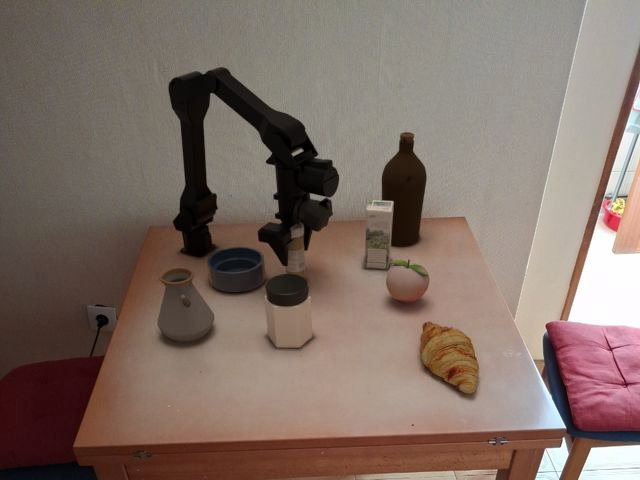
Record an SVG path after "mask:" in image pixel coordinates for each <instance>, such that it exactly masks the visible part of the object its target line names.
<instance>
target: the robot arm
mask: <svg viewBox="0 0 640 480" xmlns="http://www.w3.org/2000/svg"><path fill="white" fill-rule="evenodd" d="M167 86H168V87H167V89H168V95H169V100H170V105H171V109H172V110H173V112H174V114H175V115H176V117H177V118H178V120H179V124H180V136H181V137H180V138H181V150H182V151H181V152H182V161H183V174H184V188H183V190H182V192H181V195H180V197H179V212H178V214H177V215H176V216H175V217H174V219H173V220H172V224H173V227H174V228H175V231H177V232H180V233H181V235H182V241H183V247H182V248H181V249H180V252H181V253H184V254H188V255H192V256H195V257H199V258H201V257H204V256H205V255H206V254H207V253H209V252H211V251H212V250H214V249H215V248H216V247H217V246H216V244H214V243H213V239H212V232H211V231H210V227H209V226H210V225H209V224H210V223H212V222H214V217H215V215H216V213H217V211H218V210H219V207H218V201H217V200H218V195H217V193H215V192H213V191H212V190H211V189H210V187H209V185H208V176H207V161H206V160H207V159H206V158H207V157H206V143H205V142H206V141H205V123H204V122H205V118H206V116H207V114H208V111H209V109H210V105H211V104H210V103H211V95H212V94H213V95H214V96H216V97H217V98H218V99H219V100H220V101H222V102H223V103H224V104H225V105H226V106H227V107H229V108H230V109H231V110H232V111H234V112H235V113H236V114H237V115H239V116H240V117H241V118H242V119H243V120H245V121H246V122H247V123H248V124H249V125H250V126H251V127H253V128H254V129H255V130H256V131H257V132H258V135H259V138H260V141H261V142H262V143H263V145H264V146H265V147H266V148H267V149H268V150H269V151H270V153H271V154H270V156H269V157H268V158H267V159H266V160H265V164H267V165H271V166H274V169H275V171H274V173H275V183H276V184H275V185H276V192H275V193H273V194H272V197H273V200H274V201H277V207H278V211H277V212H275V213H274V219H275V220H279V221H280V223H277V222H273V221H268V223H267V222H266V224H264V225H262V226H261V227H260V228H259V229H258V230H257V240H258V242H261V243H265V244H268V245H269V247H270V248H271V249H272V251H273V253H274V255H275V256H276V257H277V259H278V261H279V262H280V263H281V265H282V266H283V267H285V268H286V267H287V266H288V246H289V244H290V243H291V242H292V241H293V239H291V236H292V234H291V230H290V229H292V228H293V227H295V226H296V225H297V224H299V223H302V224H303V225H304V236H303V239H304V252H307V251H308V250H309V246H310V242H311V238H312V234H313V232H316V233H319V232H320V231H322V229H324V228H325V227H327V226H328V224H329V220H330V218H331V217H332V216H334V212H333V202H332V200H331V199H330V198H333V196H334V195H335V194H336V193H337V190H338V188H339V184H340V174H339V172H338V169H337V168H336V167H335V166H334V164H333V160H332V159H329V158H326V159H323V158H319V157H318V156H319V153H318V151H317V149H316V147H315V145H314V143H313V142H312V140H311V138H310V137H309V135H308V133H307V132H306V127H305V125H304V124H303V123H302V121H301V120H299V119H298V118H296V117H294V116H293V115H290V114H289V113H287V112H283V111H280V110H276V109H274V108H273V107H271V106H270V105H268V104H267V103H266V102H265V101H263V100H262V99H261V97H259V96H257V95H256V94H255V93H254V92H253V91H251V90H250V89H249V88H248V87H247V86H245V85H244V84H243V83H242V82H241V81H239V79H237V78H236V77H235V76H233V75H232V73H231V71H230V70H229V69H228V68H226V67H224V66H219V67H216V68H213V69H212V68H211V69H210V70H206V72H205V73H203V72H201V71H199V70H194V71H191V72H187V73H185V74H181V75H179V76H175V77H172V78H171V80H170V81H169V82H168V85H167ZM300 150H302V151H301V152H299V151H300ZM296 152H298V153H297V154H295V155H293V154H294V153H296ZM311 195H315V196H320V197H323V199H321V200H318V199H314V198H313V199H312V198H311Z"/></svg>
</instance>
